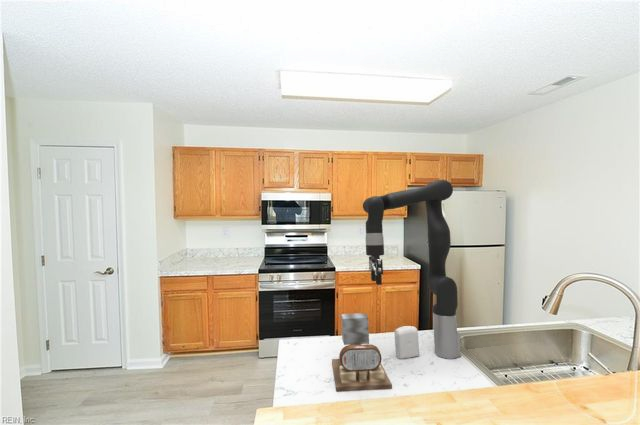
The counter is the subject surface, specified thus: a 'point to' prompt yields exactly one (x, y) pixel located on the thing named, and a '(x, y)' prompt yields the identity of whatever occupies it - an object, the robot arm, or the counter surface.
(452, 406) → the counter surface
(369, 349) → the tin
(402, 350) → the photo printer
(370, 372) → the display stand
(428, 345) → the counter surface
